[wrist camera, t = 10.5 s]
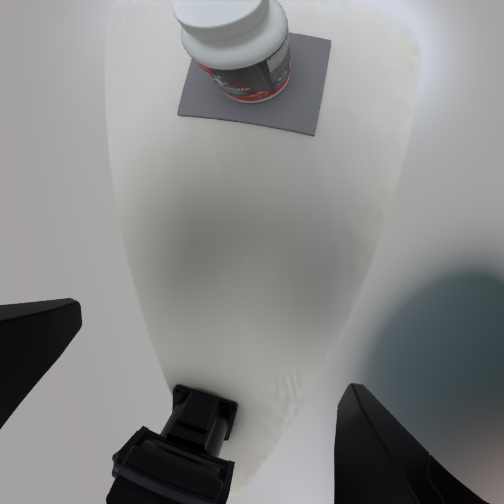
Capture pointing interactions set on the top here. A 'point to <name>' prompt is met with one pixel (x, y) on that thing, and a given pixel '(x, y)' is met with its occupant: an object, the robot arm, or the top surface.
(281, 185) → the top surface
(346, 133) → the top surface
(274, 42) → the pill bottle
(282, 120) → the slate mat
